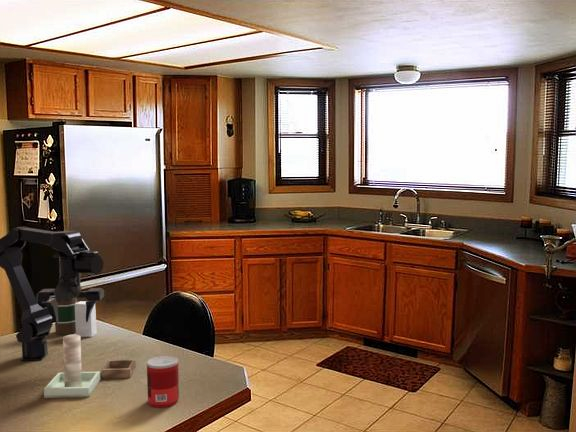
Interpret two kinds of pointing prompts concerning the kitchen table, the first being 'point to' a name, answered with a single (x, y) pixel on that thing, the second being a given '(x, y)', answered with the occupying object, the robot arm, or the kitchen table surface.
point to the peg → (72, 361)
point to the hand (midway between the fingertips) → (72, 322)
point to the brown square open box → (119, 368)
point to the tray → (60, 391)
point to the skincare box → (80, 320)
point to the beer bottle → (66, 317)
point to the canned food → (162, 381)
